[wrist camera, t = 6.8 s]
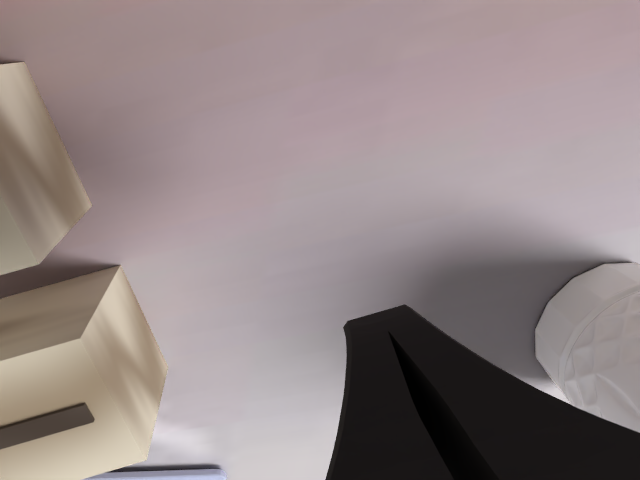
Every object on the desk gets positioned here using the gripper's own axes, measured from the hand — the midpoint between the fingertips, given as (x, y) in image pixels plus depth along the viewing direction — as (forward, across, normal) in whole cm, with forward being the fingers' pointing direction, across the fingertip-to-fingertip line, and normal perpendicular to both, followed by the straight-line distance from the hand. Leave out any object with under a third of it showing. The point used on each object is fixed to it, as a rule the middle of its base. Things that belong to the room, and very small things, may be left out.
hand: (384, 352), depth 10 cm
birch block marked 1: (+10, +10, +3) cm, 14 cm away
